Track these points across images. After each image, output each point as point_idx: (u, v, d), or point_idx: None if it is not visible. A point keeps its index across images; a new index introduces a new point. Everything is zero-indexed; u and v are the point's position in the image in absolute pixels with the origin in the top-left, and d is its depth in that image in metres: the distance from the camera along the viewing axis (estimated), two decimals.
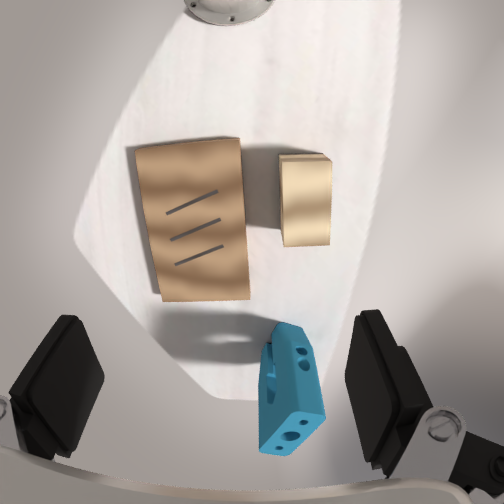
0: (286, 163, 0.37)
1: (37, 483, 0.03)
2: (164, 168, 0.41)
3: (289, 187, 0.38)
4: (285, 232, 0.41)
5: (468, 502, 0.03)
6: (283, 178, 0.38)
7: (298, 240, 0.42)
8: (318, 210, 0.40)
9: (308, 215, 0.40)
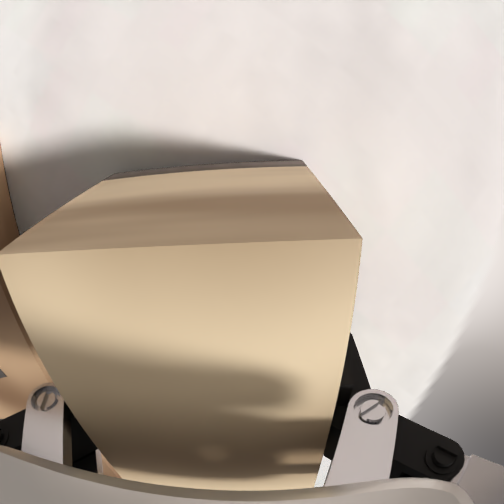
0: (16, 263, 0.04)
1: (37, 483, 0.03)
2: None
3: (84, 387, 0.06)
4: None
5: (468, 502, 0.03)
6: (36, 344, 0.05)
7: None
8: (258, 465, 0.07)
9: (212, 474, 0.07)
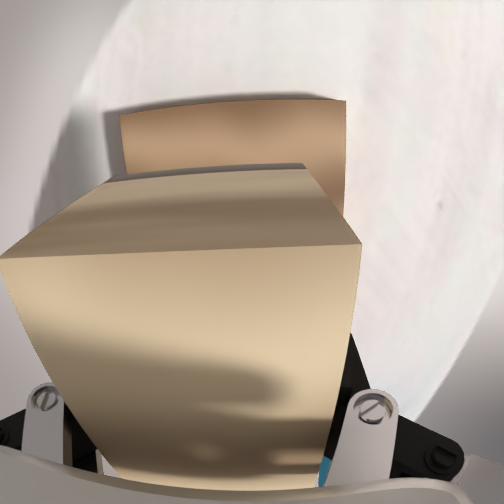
0: (17, 267, 0.04)
1: (37, 483, 0.03)
2: (181, 152, 0.19)
3: (85, 390, 0.06)
4: None
5: (468, 502, 0.03)
6: (37, 347, 0.05)
7: None
8: (257, 467, 0.07)
9: (212, 476, 0.07)
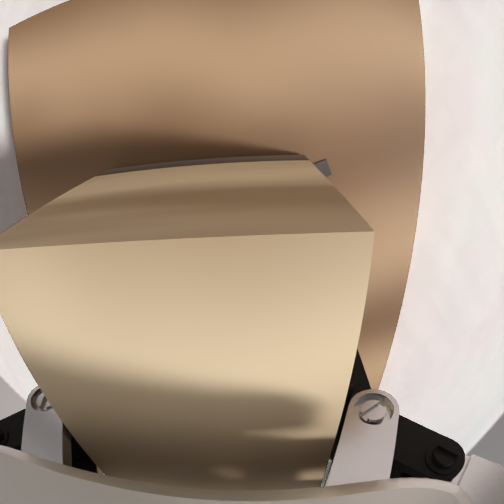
0: None
1: (37, 483, 0.03)
2: (97, 69, 0.08)
3: (71, 394, 0.05)
4: None
5: (468, 502, 0.03)
6: (20, 347, 0.05)
7: None
8: (257, 477, 0.06)
9: (209, 485, 0.07)
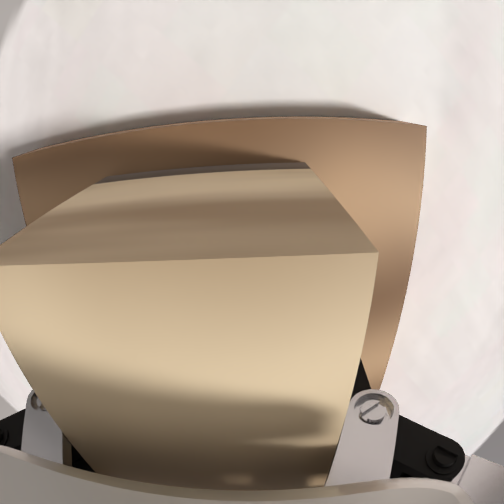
0: None
1: (37, 483, 0.03)
2: None
3: (71, 407, 0.05)
4: None
5: (468, 502, 0.03)
6: (19, 361, 0.05)
7: None
8: (258, 486, 0.06)
9: None
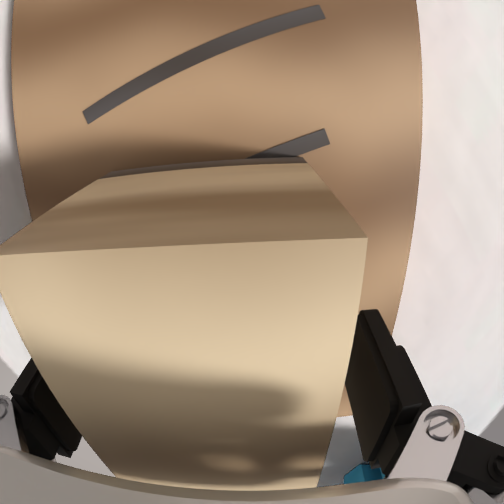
0: (8, 264, 0.04)
1: (37, 483, 0.03)
2: None
3: (79, 391, 0.05)
4: None
5: (468, 502, 0.03)
6: (29, 347, 0.05)
7: None
8: (258, 470, 0.07)
9: (211, 479, 0.07)
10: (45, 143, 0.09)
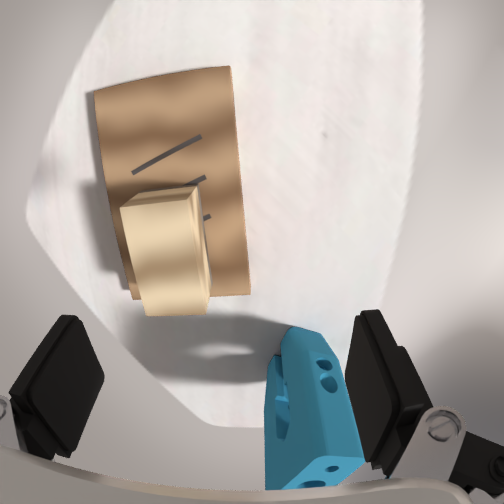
0: (125, 209, 0.26)
1: (37, 483, 0.03)
2: (130, 110, 0.28)
3: (135, 241, 0.27)
4: (143, 298, 0.30)
5: (468, 502, 0.03)
6: (125, 229, 0.27)
7: (162, 309, 0.30)
8: (179, 269, 0.28)
9: (167, 276, 0.29)
10: (117, 180, 0.31)
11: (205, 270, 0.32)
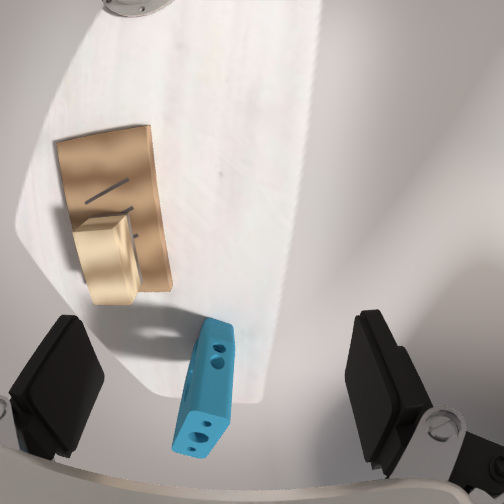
0: (75, 233, 0.37)
1: (37, 483, 0.03)
2: (81, 159, 0.39)
3: (83, 254, 0.38)
4: (91, 292, 0.41)
5: (468, 502, 0.03)
6: (76, 246, 0.38)
7: (103, 300, 0.41)
8: (111, 274, 0.39)
9: (104, 278, 0.40)
10: (75, 208, 0.42)
11: (133, 274, 0.43)
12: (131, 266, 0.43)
